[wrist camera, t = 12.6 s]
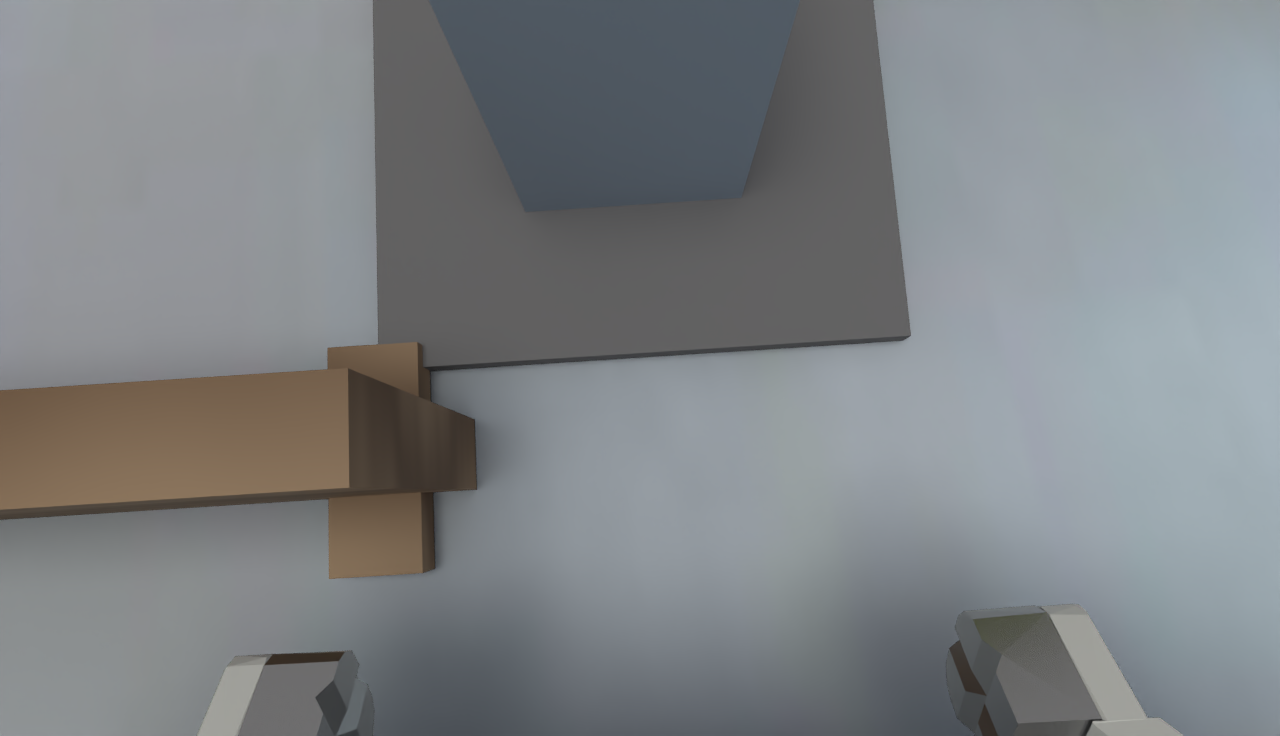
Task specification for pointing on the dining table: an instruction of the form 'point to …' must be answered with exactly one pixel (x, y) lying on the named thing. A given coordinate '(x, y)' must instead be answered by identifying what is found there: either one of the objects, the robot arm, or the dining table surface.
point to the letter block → (620, 93)
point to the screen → (252, 450)
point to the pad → (637, 221)
